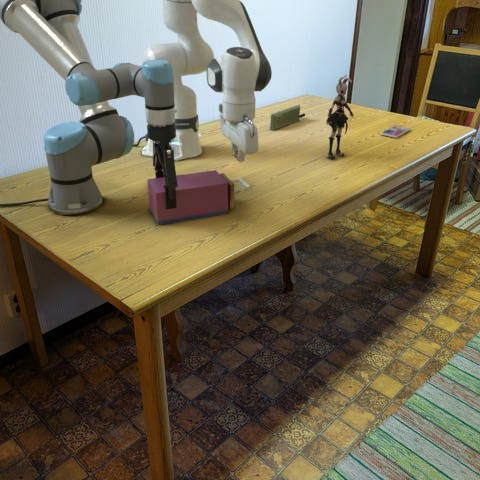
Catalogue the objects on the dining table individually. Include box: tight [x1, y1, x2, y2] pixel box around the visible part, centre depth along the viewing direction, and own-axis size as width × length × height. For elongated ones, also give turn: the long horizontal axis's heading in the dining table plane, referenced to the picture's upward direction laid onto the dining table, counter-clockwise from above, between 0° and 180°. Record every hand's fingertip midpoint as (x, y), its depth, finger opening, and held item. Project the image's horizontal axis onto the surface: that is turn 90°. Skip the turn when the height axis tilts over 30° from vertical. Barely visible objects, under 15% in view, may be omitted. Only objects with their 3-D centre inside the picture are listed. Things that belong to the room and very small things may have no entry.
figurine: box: [325, 74, 354, 160], centre depth 182 cm, size 15×6×30 cm, turn 132°
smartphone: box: [380, 124, 411, 139], centre depth 215 cm, size 7×1×15 cm
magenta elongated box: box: [146, 169, 229, 225], centre depth 145 cm, size 21×10×10 cm, turn 111°
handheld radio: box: [269, 104, 306, 131], centre depth 223 cm, size 7×3×25 cm
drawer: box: [219, 172, 252, 209], centre depth 147 cm, size 25×9×7 cm, turn 111°
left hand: (166, 200), depth 143 cm, fingers closed on magenta elongated box, 10 cm apart
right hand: (238, 159), depth 146 cm, fingers closed
